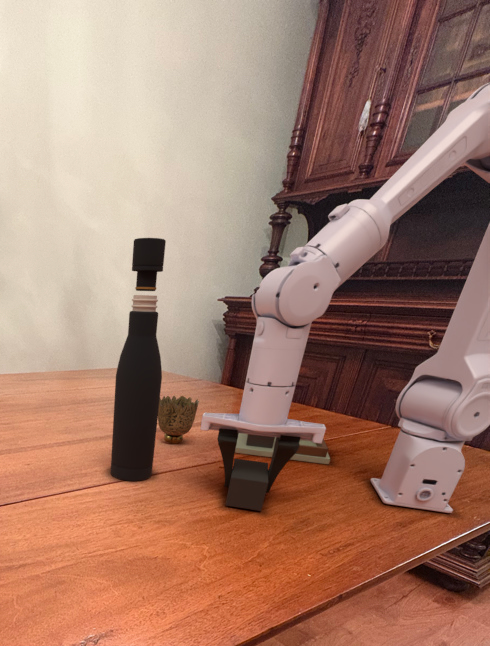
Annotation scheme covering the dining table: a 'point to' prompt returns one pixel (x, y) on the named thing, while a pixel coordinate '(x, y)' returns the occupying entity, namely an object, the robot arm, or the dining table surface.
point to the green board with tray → (266, 445)
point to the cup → (176, 417)
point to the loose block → (248, 484)
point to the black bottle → (139, 372)
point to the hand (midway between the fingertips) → (246, 487)
